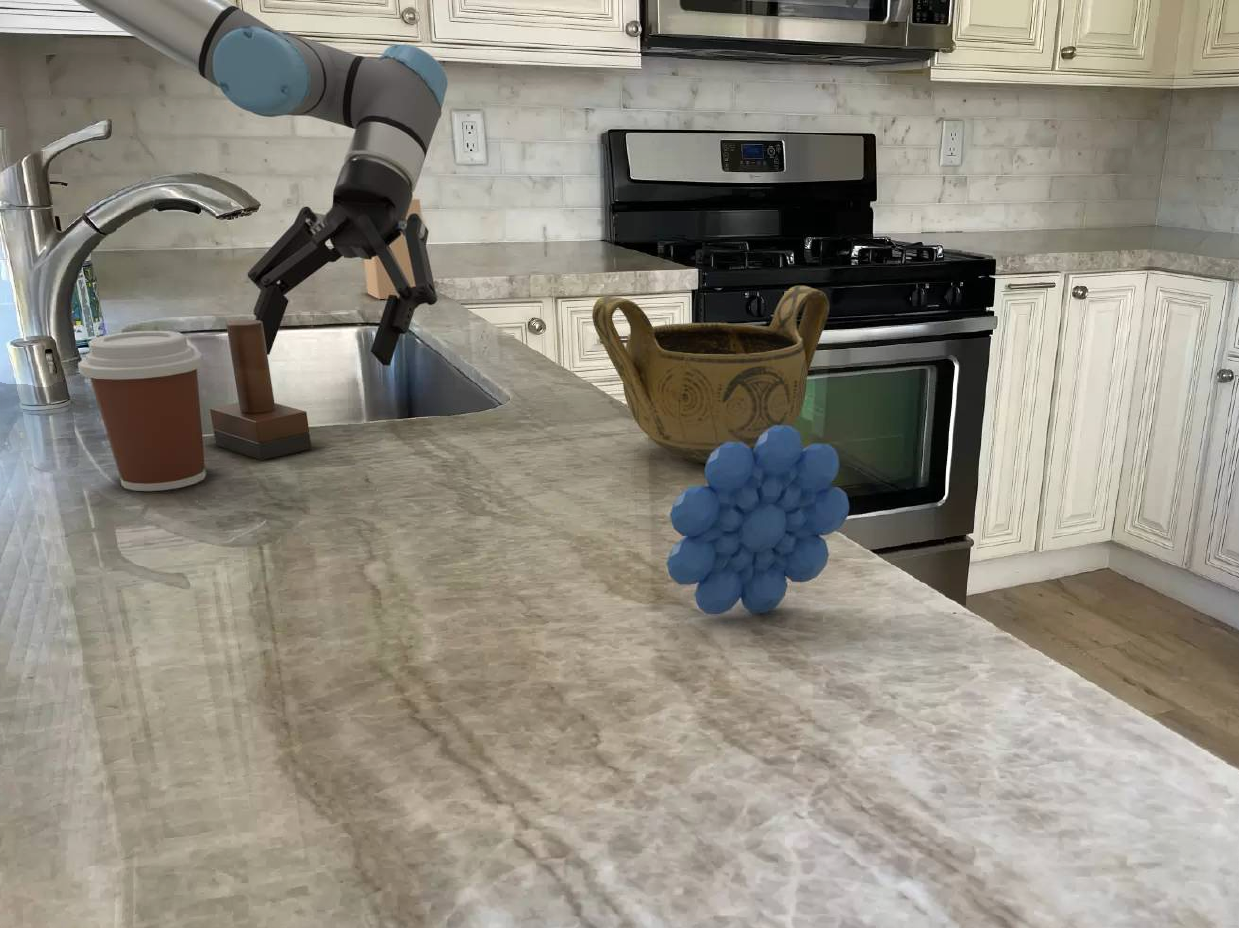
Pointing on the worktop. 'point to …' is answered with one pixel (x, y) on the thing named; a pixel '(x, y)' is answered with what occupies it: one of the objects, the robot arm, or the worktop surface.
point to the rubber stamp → (256, 403)
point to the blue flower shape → (757, 521)
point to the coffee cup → (149, 406)
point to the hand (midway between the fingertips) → (318, 353)
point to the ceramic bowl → (714, 372)
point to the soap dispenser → (375, 271)
